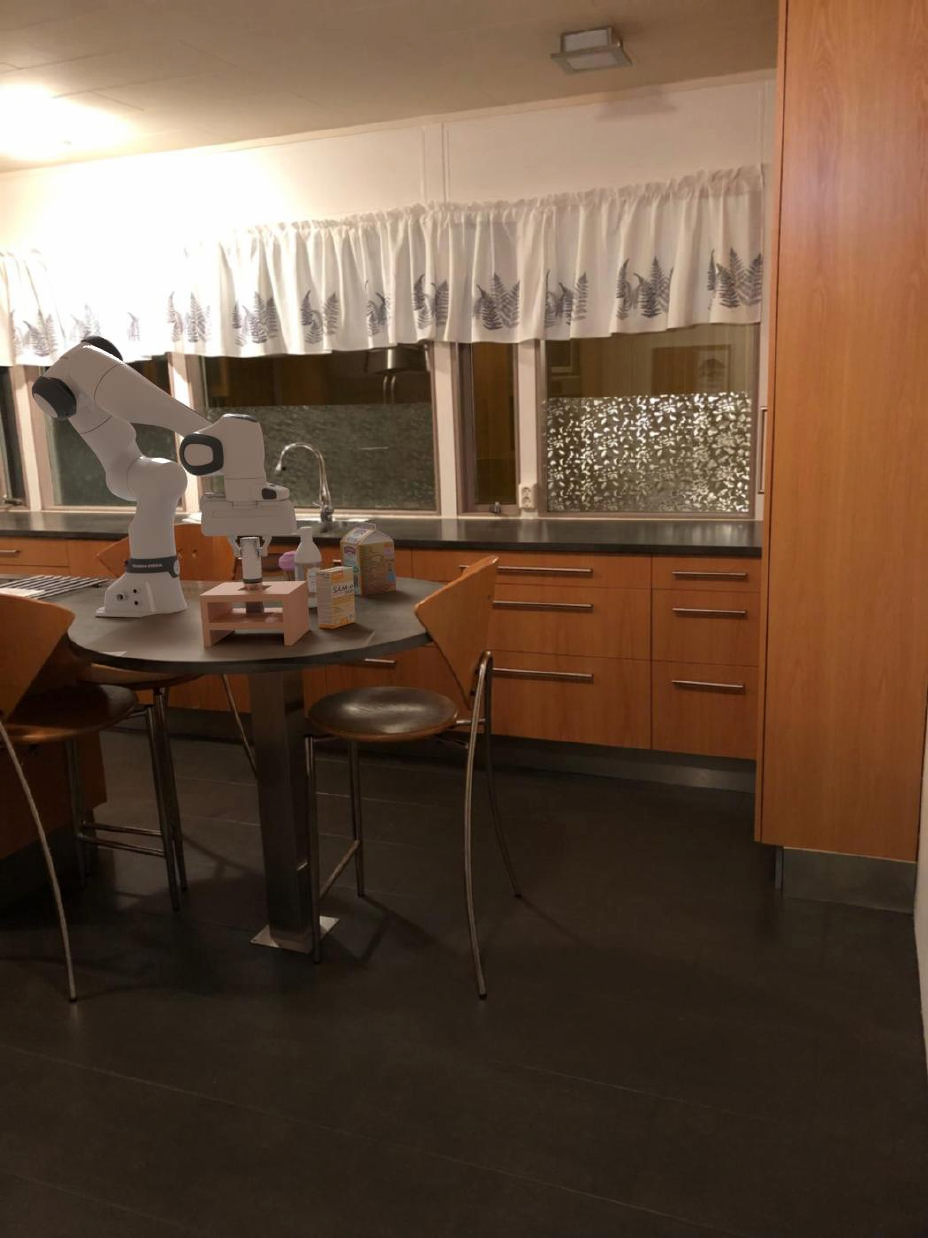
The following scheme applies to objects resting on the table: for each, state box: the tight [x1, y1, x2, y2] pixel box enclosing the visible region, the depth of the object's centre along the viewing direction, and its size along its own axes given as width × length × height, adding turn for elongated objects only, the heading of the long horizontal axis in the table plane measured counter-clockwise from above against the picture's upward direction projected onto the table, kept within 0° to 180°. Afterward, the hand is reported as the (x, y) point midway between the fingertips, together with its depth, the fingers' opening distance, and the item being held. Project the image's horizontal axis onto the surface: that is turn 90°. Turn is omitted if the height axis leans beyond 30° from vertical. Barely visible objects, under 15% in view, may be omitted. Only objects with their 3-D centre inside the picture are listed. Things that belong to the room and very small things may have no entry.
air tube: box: [239, 536, 265, 614], centre depth 212 cm, size 4×4×16 cm
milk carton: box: [339, 521, 397, 597], centre depth 264 cm, size 11×11×19 cm
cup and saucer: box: [261, 552, 284, 574], centre depth 304 cm, size 12×12×6 cm
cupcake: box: [279, 550, 296, 581], centre depth 281 cm, size 9×9×10 cm
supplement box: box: [315, 566, 356, 629], centre depth 224 cm, size 8×5×13 cm, turn 148°
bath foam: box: [294, 526, 324, 609], centre depth 248 cm, size 7×7×20 cm
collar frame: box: [198, 580, 311, 647], centre depth 214 cm, size 19×16×11 cm
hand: (251, 556), depth 211 cm, fingers closed on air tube, 4 cm apart
